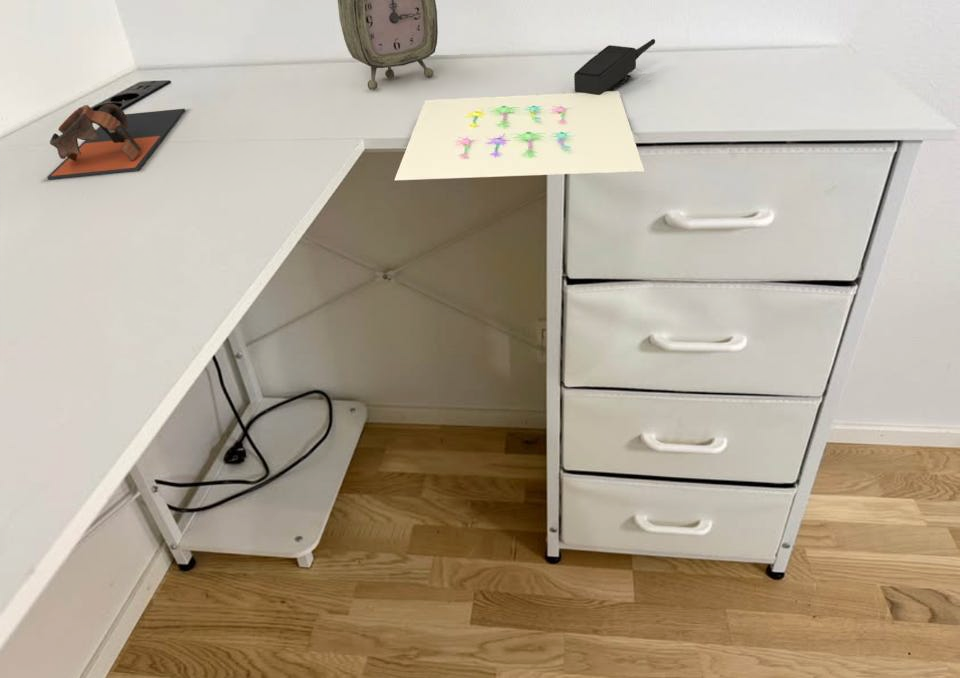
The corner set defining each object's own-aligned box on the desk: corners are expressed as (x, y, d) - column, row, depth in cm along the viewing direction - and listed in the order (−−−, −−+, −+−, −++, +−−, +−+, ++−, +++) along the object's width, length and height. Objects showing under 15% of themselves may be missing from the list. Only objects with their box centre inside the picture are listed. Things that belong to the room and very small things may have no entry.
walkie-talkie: (561, 81, 105) (623, 39, 116) (586, 112, 106) (645, 67, 117) (585, 55, 100) (647, 14, 111) (611, 88, 101) (670, 44, 112)
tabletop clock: (366, 95, 113) (338, -80, 98) (347, 83, 120) (318, -82, 105) (443, 78, 119) (427, -91, 104) (420, 67, 125) (402, -92, 110)
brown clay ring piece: (132, 172, 91) (76, 126, 86) (88, 200, 95) (32, 158, 90) (159, 120, 99) (109, 75, 93) (118, 148, 103) (67, 107, 97)
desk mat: (48, 179, 91) (46, 176, 91) (111, 118, 112) (110, 115, 112) (138, 170, 92) (137, 167, 91) (185, 110, 113) (184, 108, 112)
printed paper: (425, 102, 106) (424, 92, 106) (618, 93, 104) (619, 83, 103) (394, 182, 83) (392, 171, 82) (644, 173, 80) (645, 162, 79)
